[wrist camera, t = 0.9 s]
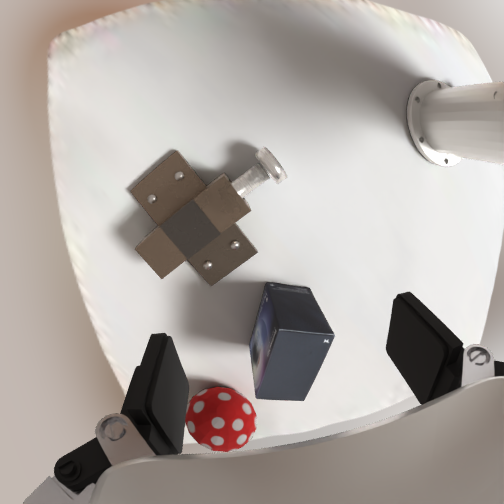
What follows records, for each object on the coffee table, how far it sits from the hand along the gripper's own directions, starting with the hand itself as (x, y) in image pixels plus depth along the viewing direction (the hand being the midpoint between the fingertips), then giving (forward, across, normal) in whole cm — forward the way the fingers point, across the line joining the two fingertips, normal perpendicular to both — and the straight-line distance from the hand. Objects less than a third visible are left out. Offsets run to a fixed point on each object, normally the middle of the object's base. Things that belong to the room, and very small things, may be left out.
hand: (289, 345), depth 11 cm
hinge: (+23, +6, 0) cm, 24 cm away
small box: (+23, -2, +14) cm, 28 cm away
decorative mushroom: (+23, +10, +31) cm, 40 cm away
